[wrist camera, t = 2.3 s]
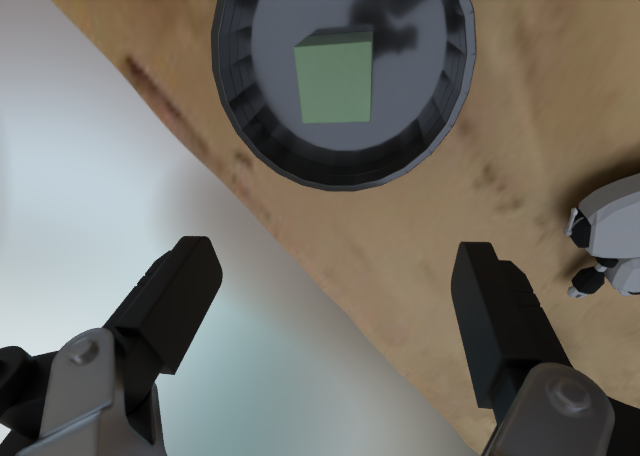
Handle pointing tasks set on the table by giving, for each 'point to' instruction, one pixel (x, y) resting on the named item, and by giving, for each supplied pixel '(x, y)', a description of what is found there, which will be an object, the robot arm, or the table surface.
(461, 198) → the table surface
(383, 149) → the pan
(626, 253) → the robot toy
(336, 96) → the cube
